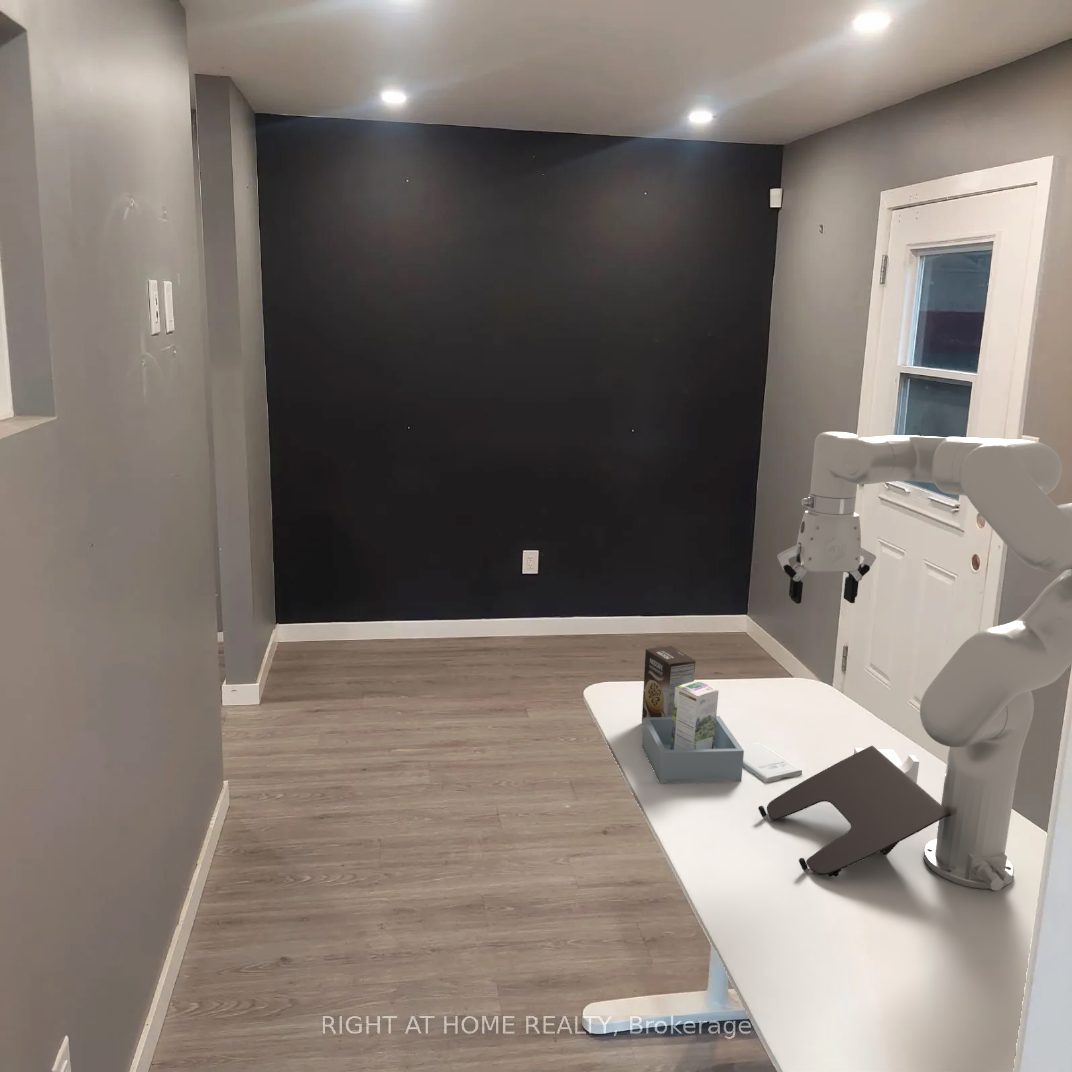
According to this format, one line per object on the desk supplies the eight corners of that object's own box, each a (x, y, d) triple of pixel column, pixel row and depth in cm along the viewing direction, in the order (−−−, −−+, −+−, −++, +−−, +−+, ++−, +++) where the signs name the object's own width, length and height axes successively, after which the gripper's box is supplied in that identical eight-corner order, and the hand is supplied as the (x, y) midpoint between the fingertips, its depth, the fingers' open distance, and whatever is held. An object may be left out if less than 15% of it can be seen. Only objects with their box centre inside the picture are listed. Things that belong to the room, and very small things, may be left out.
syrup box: (690, 750, 180) (694, 678, 177) (713, 761, 175) (719, 688, 172) (669, 758, 176) (673, 685, 173) (692, 770, 172) (698, 695, 169)
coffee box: (640, 723, 193) (644, 648, 190) (666, 718, 196) (671, 644, 192) (664, 741, 185) (668, 663, 182) (691, 735, 188) (696, 659, 184)
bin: (741, 781, 170) (743, 750, 168) (659, 783, 168) (661, 752, 167) (717, 744, 184) (719, 716, 183) (641, 746, 183) (643, 717, 181)
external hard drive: (758, 749, 184) (801, 777, 173) (724, 756, 181) (765, 785, 170) (759, 741, 184) (802, 768, 173) (724, 748, 180) (766, 777, 170)
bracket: (914, 801, 165) (919, 761, 163) (872, 799, 165) (877, 759, 164) (890, 767, 178) (895, 729, 176) (852, 765, 178) (856, 727, 176)
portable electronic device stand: (768, 839, 163) (749, 797, 160) (885, 777, 164) (868, 734, 161) (830, 921, 141) (809, 874, 138) (965, 850, 142) (946, 802, 139)
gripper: (790, 509, 157) (782, 608, 161) (890, 509, 158) (879, 607, 162) (775, 500, 164) (767, 595, 168) (870, 501, 166) (860, 594, 170)
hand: (822, 601), depth 165 cm, fingers open, 9 cm apart
